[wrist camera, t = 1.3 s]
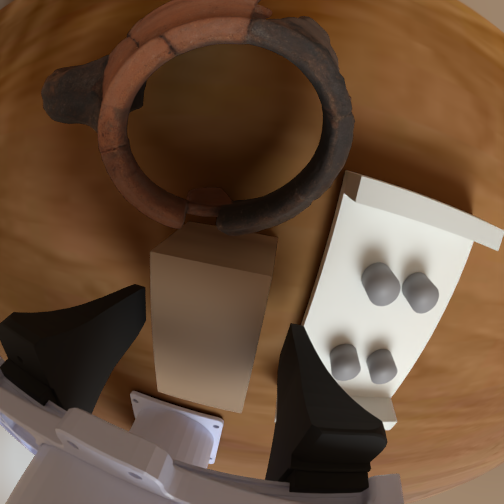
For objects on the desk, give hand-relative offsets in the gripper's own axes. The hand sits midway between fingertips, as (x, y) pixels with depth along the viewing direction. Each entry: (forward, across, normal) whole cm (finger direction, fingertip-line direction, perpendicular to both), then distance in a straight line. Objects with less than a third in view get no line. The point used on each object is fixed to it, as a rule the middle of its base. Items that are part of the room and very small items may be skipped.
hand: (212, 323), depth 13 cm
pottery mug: (+3, +2, -10) cm, 11 cm away
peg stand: (+2, -8, -1) cm, 9 cm away
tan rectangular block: (+3, 0, 0) cm, 3 cm away
